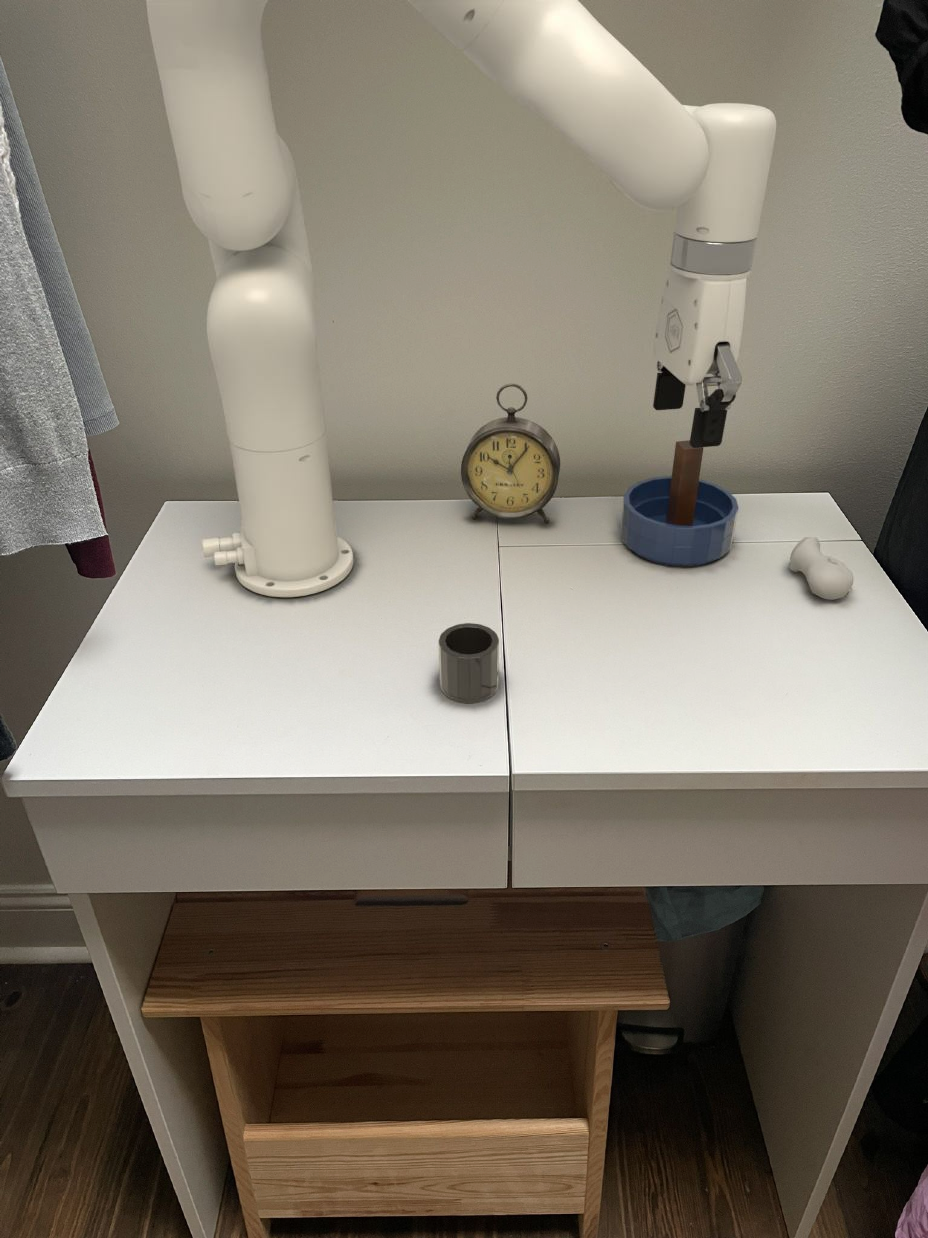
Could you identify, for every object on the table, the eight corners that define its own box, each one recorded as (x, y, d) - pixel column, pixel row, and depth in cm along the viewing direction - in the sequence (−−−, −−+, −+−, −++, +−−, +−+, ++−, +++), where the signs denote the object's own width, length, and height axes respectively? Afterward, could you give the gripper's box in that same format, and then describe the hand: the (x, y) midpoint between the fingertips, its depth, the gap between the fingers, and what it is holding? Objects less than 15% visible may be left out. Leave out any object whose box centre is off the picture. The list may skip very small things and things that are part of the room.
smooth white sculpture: (851, 614, 96) (808, 605, 94) (817, 571, 102) (777, 562, 101) (873, 579, 93) (829, 569, 92) (837, 537, 100) (796, 528, 98)
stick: (671, 541, 104) (684, 449, 98) (664, 532, 106) (675, 441, 100) (690, 539, 105) (703, 447, 99) (682, 529, 107) (695, 439, 100)
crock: (446, 707, 83) (445, 661, 80) (435, 671, 87) (433, 627, 84) (504, 698, 83) (505, 653, 81) (490, 663, 88) (490, 619, 85)
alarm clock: (460, 524, 109) (458, 390, 100) (468, 502, 114) (466, 372, 105) (555, 531, 108) (562, 395, 99) (559, 509, 112) (566, 376, 103)
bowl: (643, 575, 100) (648, 534, 97) (605, 521, 110) (608, 482, 107) (750, 561, 102) (757, 520, 99) (703, 509, 112) (709, 470, 109)
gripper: (640, 234, 95) (622, 398, 104) (713, 281, 81) (684, 464, 90) (710, 231, 96) (686, 393, 106) (794, 277, 82) (757, 458, 92)
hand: (685, 426), depth 98 cm, fingers open, 9 cm apart
